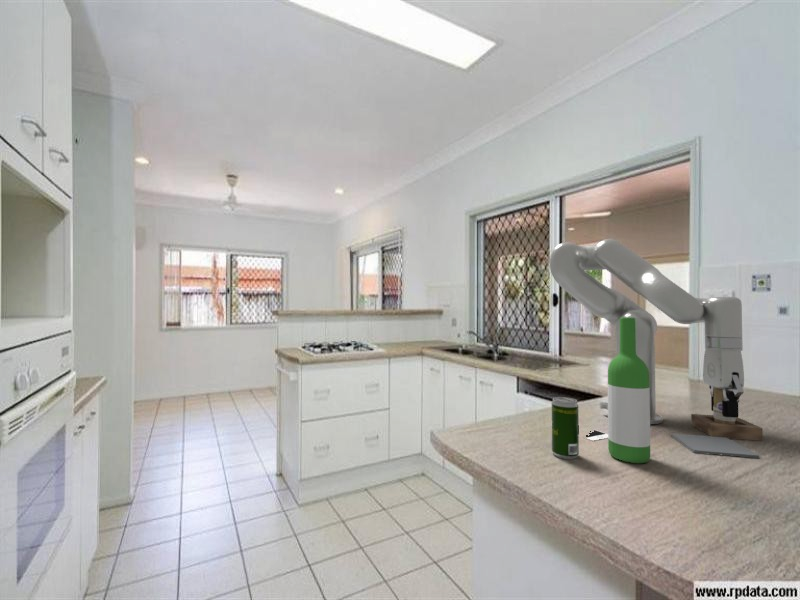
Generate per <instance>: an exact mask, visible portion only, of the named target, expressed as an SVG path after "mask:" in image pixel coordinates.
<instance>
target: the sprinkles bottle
mask: <svg viewBox="0 0 800 600" xmlns="http://www.w3.org/2000/svg"><path fill="white" fill-rule="evenodd" d="M713 388H714V406H713V411H712V412H713V414H712V415H713V416H714V422H715V423H721V424H735V421H736V418H735V417H724V416H723V415H722V401H724V396H723V389H719V388H716V387H713ZM727 389H733V386H729V387H728V388H727ZM730 392H733V391H728V395H729V393H730Z"/></svg>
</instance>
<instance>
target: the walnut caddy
mask: <svg viewBox="0 0 800 600" xmlns="http://www.w3.org/2000/svg"><path fill="white" fill-rule="evenodd" d="M690 415H691V416H690V417H691V426H693V427H694V428H696V429H698V430H700V432H703V433H704V434H706V433H707V434H706V435H707V436H713V437H726V438H728V439H733V438H734V439H735V440H747V441H763V440H764V439H763V436H764V434H763V428H762V427H760V426H758V425H756V424H754V423H751V422H749V421H747V420H745V419H743V418H740V417H739V416H738V417H737V418H736V421H735V424H721V423H715V422H714V416H713V414H699V413H691V414H690Z"/></svg>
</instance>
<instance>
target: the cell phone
mask: <svg viewBox="0 0 800 600" xmlns="http://www.w3.org/2000/svg"><path fill="white" fill-rule="evenodd" d="M596 430H597V429H594V432H592V433H589V434H590V435H589V436H588V435H586V437H587V439H586V440H588V439H590V440H589V441H591V440H592V441H591V442H595V441H594V440H598V441H600V440H599V439H603V440H605V439H604V438H608V433H606V432H603V431H600V430H597V431H596ZM590 432H591V431H590Z"/></svg>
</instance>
